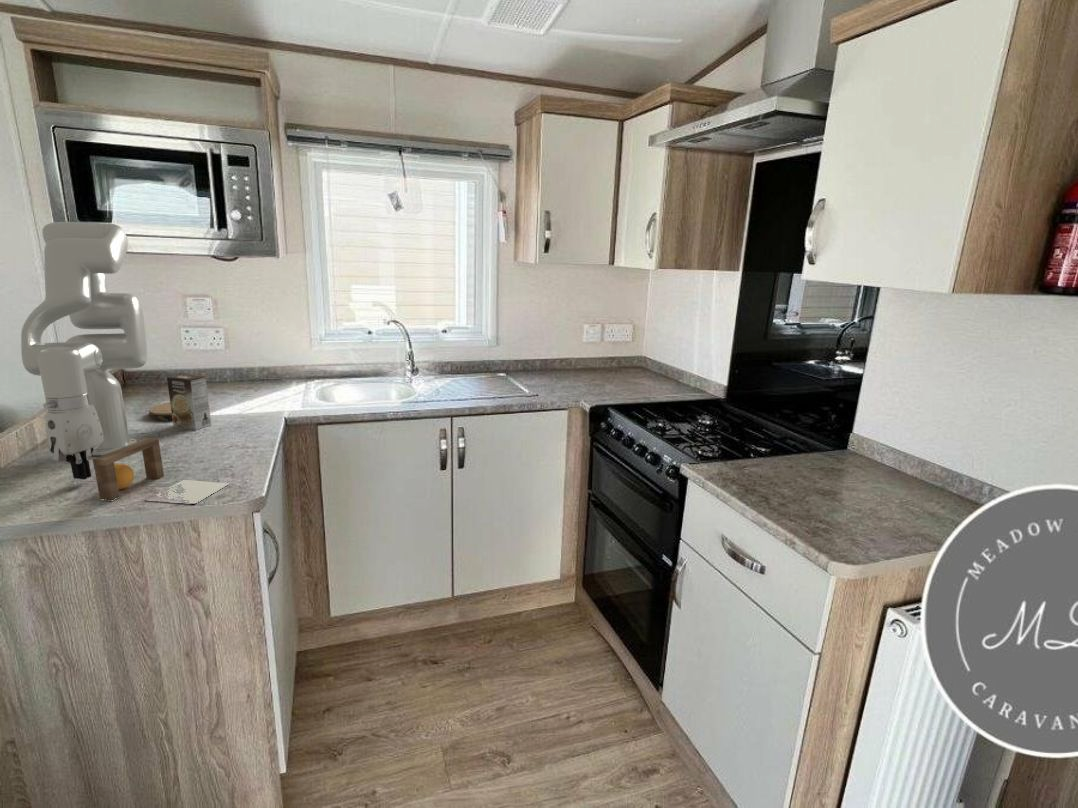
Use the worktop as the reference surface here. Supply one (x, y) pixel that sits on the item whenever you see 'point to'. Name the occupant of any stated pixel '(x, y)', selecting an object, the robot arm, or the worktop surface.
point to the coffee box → (189, 401)
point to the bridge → (106, 462)
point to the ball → (123, 475)
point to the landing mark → (195, 490)
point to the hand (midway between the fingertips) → (82, 477)
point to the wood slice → (161, 412)
